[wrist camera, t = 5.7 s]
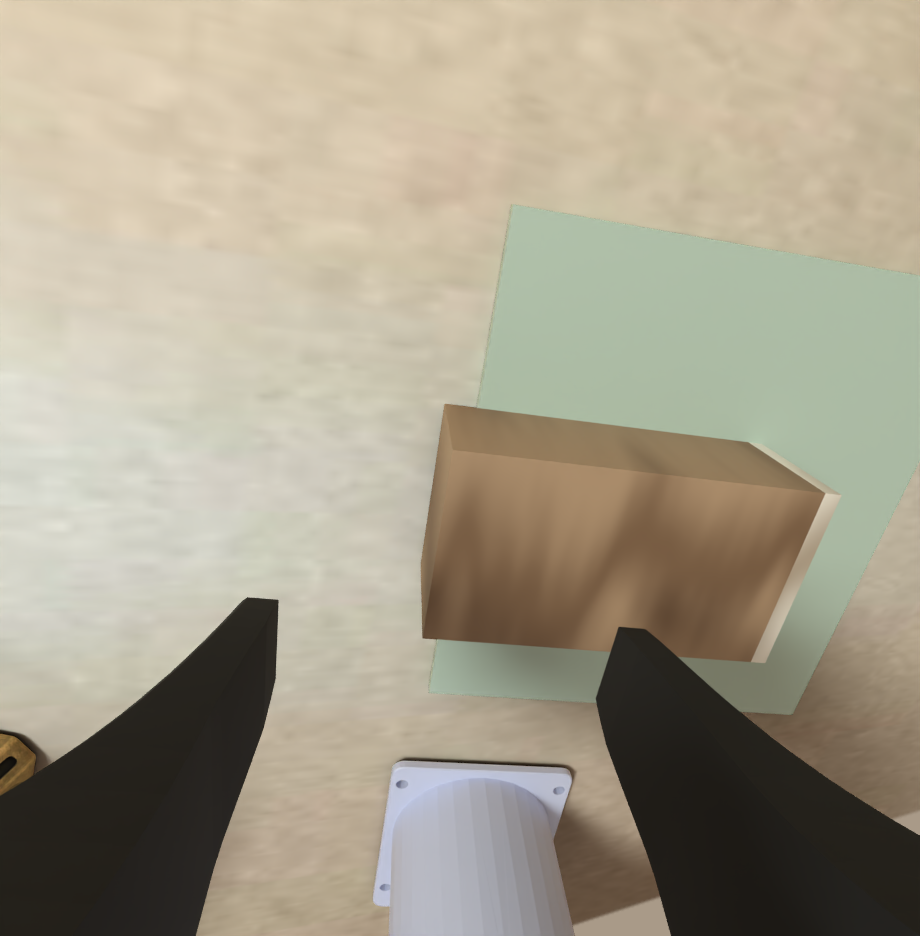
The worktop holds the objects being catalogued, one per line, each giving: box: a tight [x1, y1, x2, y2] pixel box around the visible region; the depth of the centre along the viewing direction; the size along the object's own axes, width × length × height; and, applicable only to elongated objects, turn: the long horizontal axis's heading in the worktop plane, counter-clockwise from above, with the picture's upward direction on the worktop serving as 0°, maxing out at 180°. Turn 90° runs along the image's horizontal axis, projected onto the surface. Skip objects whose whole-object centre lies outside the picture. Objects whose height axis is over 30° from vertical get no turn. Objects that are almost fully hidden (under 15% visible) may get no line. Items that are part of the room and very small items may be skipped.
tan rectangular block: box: [421, 404, 842, 663], centre depth 18 cm, size 6×4×11 cm
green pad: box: [429, 205, 920, 715], centre depth 21 cm, size 18×16×1 cm
